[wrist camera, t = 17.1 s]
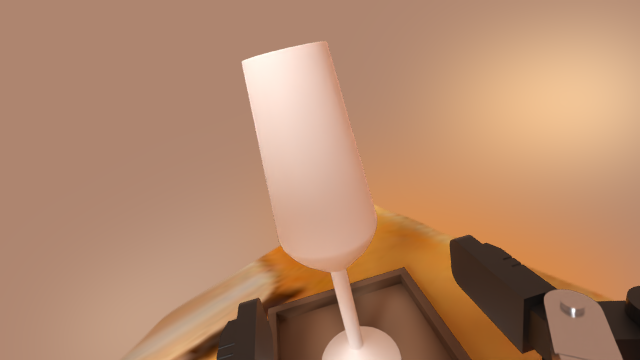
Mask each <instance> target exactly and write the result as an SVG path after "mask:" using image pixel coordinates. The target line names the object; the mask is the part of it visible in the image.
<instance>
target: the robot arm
mask: <svg viewBox="0 0 640 360" xmlns="http://www.w3.org/2000/svg"><path fill="white" fill-rule="evenodd" d="M450 255H451V268H452V274H453V276H454V279H455V281H456V282H457V284H458V285H459V286H460V287H461V288H462V290H463V291H464V292H465V293H466V294H467V295H468V296H469V297H470V298H471V299H472V300H473V301H474V302H475V304H476V305H477V306H478V307H479V308H480V309H481V310H482V311H483V312H484V313H485V314H486V315H487V316H488V317H489V319H490V320H491V321H492V322H493V323H494V324H495V325H496V326H497V327H498V328H499V329H500V330H501V331H502V332H503V334H504V335H505V336H506V337H507V338H508V339H509V340H510V341H511V342H512V343H513V344H514V345H515V346H516V347H517V349H518V350H519V351H520V352H521V353H522V354H523V353H526V352H528V351H531V350H534V349H535V350H536V351H537V352H538V353H539V354H540V360H640V286H637V287H633V288H631V289H629V291H628V293H627V298H626V301H601V302H596V301H594V300H593V299H591V298H590V297H588V296H586V295H584V294H582V293H579V292H576V291H572V290H564V289H556V288H555V287H553V286H552V285H551V284H549V283H548V282H547V281H545V280H544V279H542V278H541V277H540V276H538V275H537V274H535V273H534V272H533V271H531V270H530V269H529V268H527V267H526V266H524V265H521V263H520V262H519V261H517V260H516V259H515V258H512V257H511V256H510V255H509V254H508V253H506V252H505V251H504V250H502V249H501V248H498V247H496V246H493V245H491V244H488V243H484V244H482V243H480V242H479V241H478V240H476V239H475V238H473V237H472V236H471V235H466V236H463V237H459V238H456V239H453V240H451V241H450ZM218 348H219V350H218V353H217V360H274V346H273V336H272V331H271V328H270V325H269V322H268V319H267V317H266V314H265V311H264V309H263V306H262V304H261V301H260V299H259V298H256V299H253V300H250V301H247V302H243V303H240V304H239V307H238V316H237V319H235V320H232V321H229V322H228V323H227V325H226V326H225V328H224V330H223V332H222V333H221V336H220V341H219V347H218Z"/></svg>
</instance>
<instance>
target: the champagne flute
mask: <svg viewBox="0 0 640 360" xmlns="http://www.w3.org/2000/svg"><path fill="white" fill-rule="evenodd" d="M242 66H243V71H244V76H245V81H246V86H247V90H248V95H249V100H250V105H251V109H252V114H253V119H254V124H255V129H256V133H257V138H258V143H259V148H260V153H261V157H262V163H263V167H264V172H265V177H266V182H267V186H268V191H269V196H270V201H271V206H272V210H273V216H274V220H275V225H276V229H277V235H278V240H279V242H280V245H281V246H282V248H283V250H284V251H285V252H286V253H287V254H288V255H290V256H291V257H292V258H293V259H294V260H296V261H297V262H299V263H301V264H303V265H305V266H307V267H309V268H313V269H317V270H321V271H325V272H330V273H331V277H332V281H333V285H334V288H335V292H336V296H337V300H338V304H339V308H340V312H341V315H342V319H343V323H344V327H345V330H344V331H343V332H341V333H339V334H338V335H336V336H335V337H334V338H333V339H332V340H331V341H330V342H329V344H328V345H327V347H326V348H325V351H324V353H323V356H322V360H401V354H400V351H399V349H398V347H397V345H396V343H395V342H394V341H393V339H392V338H391V337H390V336H388V335H387V334H386V333H384V332H383V331H381V330H379V329H376V328H373V327H367V326H359V321H358V317H357V313H356V308H355V304H354V300H353V296H352V291H351V287H350V283H349V279H348V274H347V270H346V268H347V267H349V266H350V265H351V264H352V263H353V262H354V261H356V260H357V259H358V258H359V257H360V256H361V255H362V254H363V253H364V252H365V250H366V249H367V247H368V246H369V244H370V243H371V241H372V239H373V236H374V234H375V231H376V229H377V215H376V212H375V208H374V205H373V201H372V198H371V194H370V190H369V187H368V183H367V180H366V176H365V173H364V169H363V166H362V163H361V159H360V155H359V152H358V148H357V145H356V142H355V138H354V135H353V131H352V127H351V124H350V120H349V117H348V114H347V110H346V106H345V103H344V100H343V96H342V93H341V89H340V85H339V82H338V78H337V75H336V71H335V68H334V64H333V61H332V57H331V54H330V50H329V47H328V44H327V41H321V42H314V43H309V44H304V45H299V46H294V47H290V48H286V49H281V50H278V51H273V52H270V53H266V54H262V55H259V56H255V57H252V58H249V59H246V60H244V61H242Z"/></svg>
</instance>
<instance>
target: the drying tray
mask: <svg viewBox="0 0 640 360" xmlns="http://www.w3.org/2000/svg"><path fill="white" fill-rule="evenodd" d="M350 287H351V291H352V296H353V300H354V304H355V308H356V313H357V317H358V321H359V326H367V327H373V328H376V329H379V330H381V331H383V332H384V333H386V334H387V335H388V336H390V337H391V338H392V339H393V341H394V342H395V343H396V345H397V347H398V349H399V351H400V354H401V360H471V358H470V357H469V356H468V354H467V353H466V352H465V350H464V349H463V347H462V346H461V345H460V343H459V342H458V341H457V339H456V338H455V336H454V335H453V334H452V332H451V331H450V330H449V328H448V327H447V325H446V324H445V323H444V321H443V320H442V319H441V317H440V316H439V314H438V313H437V312H436V310H435V309H434V308H433V306H432V305H431V303H430V302H429V301H428V299H427V298H426V297H425V295H424V294H423V292H422V291H421V290H420V288H419V287H418V286H417V284H416V283H415V281H414V280H413V279H412V277H411V276H410V275H409V273H408V272H407V270H406V269H405V268H404V267H403V268H400V269H397V270H394V271H390V272H387V273H384V274H381V275H377V276H374V277H371V278H367V279H364V280H361V281H358V282H354V283H351V284H350ZM268 322H269V325H270V328H271V331H272V336H273V346H274V360H322V356H323V353H324V351H325V348H326V347H327V345H328V344H329V342H330V341H331V340H332V339H333V338H334V337H335V336H336V335H338V334H339V333H341V332H343V331H344V330H345V327H344V323H343V319H342V315H341V312H340V308H339V304H338V300H337V296H336V292H335V289H331V290H328V291H325V292H322V293H318V294H315V295H312V296H308V297H305V298H302V299H299V300H295V301H292V302H289V303H285V304H282V305H279V306H276V307H272V308H269V309H268Z"/></svg>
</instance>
